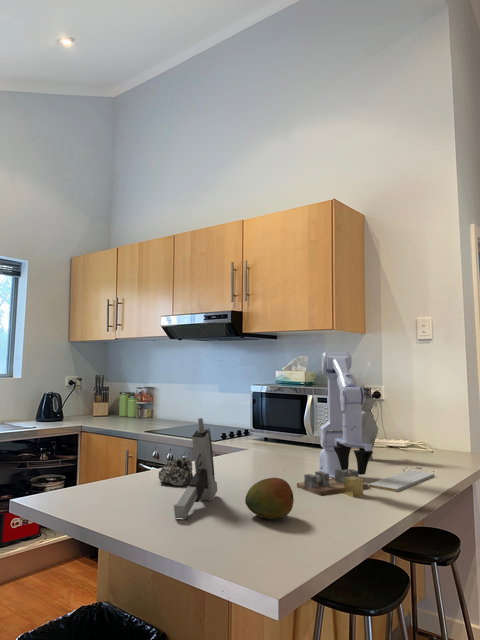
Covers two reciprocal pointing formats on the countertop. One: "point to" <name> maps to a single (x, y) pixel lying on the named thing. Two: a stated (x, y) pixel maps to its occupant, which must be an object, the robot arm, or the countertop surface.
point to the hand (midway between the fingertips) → (353, 472)
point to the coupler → (353, 486)
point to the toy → (368, 419)
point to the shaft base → (327, 489)
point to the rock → (177, 472)
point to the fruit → (270, 498)
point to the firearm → (199, 473)
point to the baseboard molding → (401, 480)
